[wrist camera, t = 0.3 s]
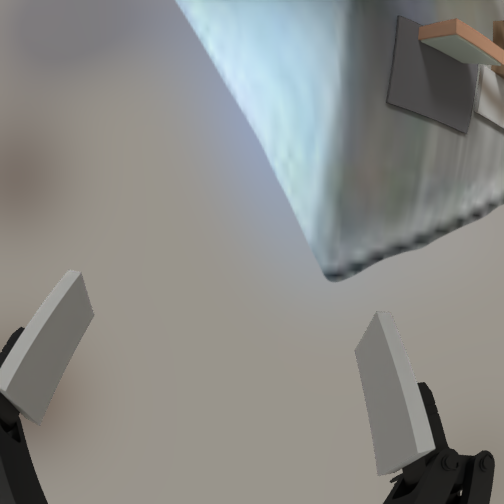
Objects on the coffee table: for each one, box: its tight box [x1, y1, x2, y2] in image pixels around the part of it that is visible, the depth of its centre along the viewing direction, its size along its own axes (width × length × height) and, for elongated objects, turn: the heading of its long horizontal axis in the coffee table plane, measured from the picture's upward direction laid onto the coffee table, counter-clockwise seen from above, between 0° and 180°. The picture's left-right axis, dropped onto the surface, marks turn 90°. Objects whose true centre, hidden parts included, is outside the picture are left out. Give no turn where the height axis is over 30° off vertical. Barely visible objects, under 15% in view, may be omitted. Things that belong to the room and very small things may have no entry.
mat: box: [386, 16, 478, 134], centre depth 26 cm, size 13×14×1 cm
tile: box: [418, 19, 504, 66], centre depth 19 cm, size 2×8×9 cm, turn 84°
